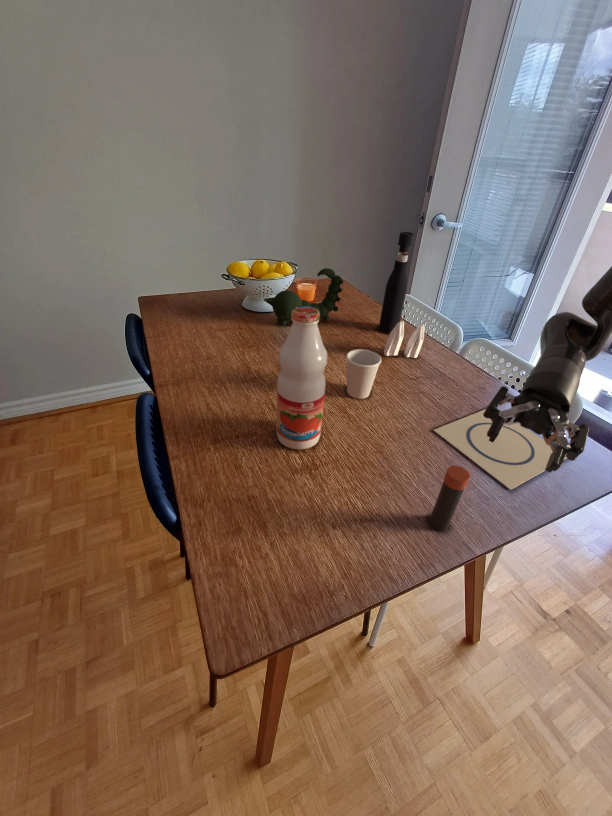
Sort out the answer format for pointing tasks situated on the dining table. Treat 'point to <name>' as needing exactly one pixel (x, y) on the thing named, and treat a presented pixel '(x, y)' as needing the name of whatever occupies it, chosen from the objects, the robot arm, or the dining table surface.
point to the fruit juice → (301, 381)
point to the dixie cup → (361, 372)
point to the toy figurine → (290, 300)
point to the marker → (449, 497)
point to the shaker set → (397, 337)
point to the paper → (499, 448)
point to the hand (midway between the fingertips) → (521, 453)
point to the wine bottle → (396, 287)
